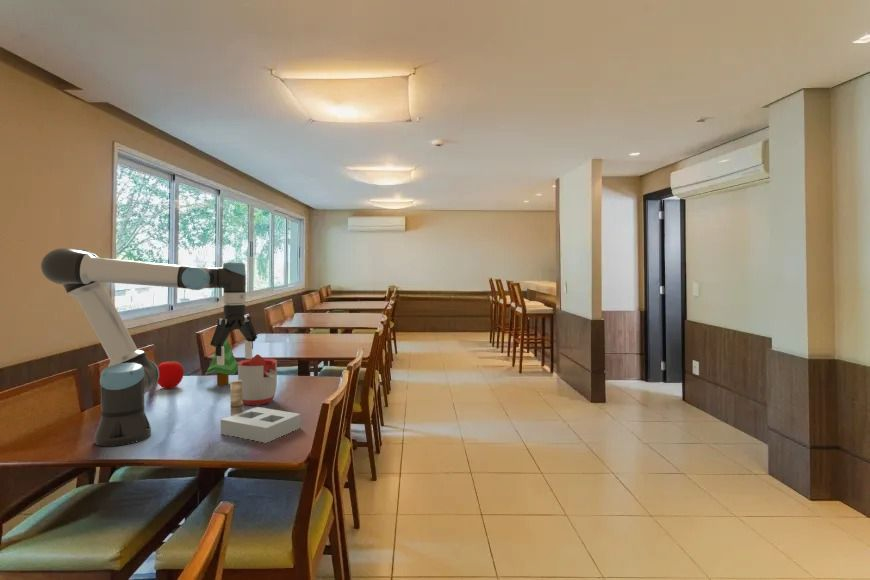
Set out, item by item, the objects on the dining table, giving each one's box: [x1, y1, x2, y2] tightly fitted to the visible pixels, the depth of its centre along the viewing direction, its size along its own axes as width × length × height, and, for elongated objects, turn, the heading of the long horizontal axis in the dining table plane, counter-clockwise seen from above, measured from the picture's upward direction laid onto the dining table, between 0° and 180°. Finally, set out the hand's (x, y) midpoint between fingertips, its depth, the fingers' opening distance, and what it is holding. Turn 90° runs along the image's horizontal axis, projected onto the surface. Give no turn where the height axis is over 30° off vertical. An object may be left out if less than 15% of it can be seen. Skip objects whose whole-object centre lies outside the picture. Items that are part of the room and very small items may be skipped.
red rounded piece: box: [157, 360, 184, 390], centre depth 214 cm, size 11×11×13 cm
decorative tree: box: [204, 337, 239, 387], centre depth 220 cm, size 14×16×30 cm
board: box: [220, 406, 302, 444], centre depth 157 cm, size 16×20×5 cm
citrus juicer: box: [237, 354, 278, 406], centre depth 191 cm, size 16×17×20 cm
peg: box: [229, 379, 244, 416], centre depth 169 cm, size 4×4×14 cm
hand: (235, 361), depth 170 cm, fingers open, 13 cm apart
